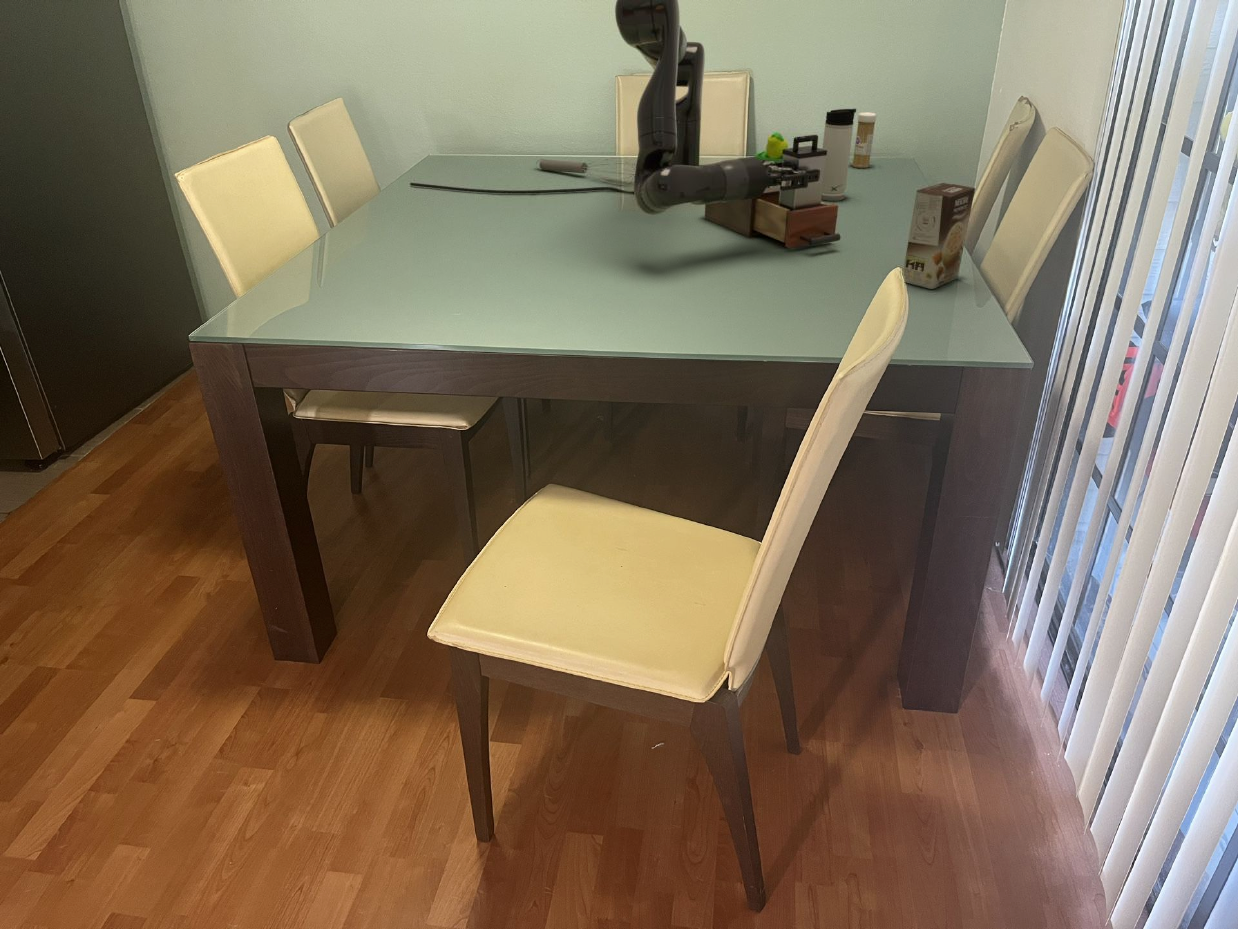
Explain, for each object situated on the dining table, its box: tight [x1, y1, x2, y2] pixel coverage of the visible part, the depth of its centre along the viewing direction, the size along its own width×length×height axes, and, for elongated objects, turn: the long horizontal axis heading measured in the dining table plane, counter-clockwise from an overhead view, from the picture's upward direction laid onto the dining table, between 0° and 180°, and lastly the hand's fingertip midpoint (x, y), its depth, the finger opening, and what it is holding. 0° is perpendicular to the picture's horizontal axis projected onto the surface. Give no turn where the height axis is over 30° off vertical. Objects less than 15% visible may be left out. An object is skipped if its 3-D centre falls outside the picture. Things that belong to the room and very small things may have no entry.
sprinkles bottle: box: [851, 111, 877, 169], centre depth 237 cm, size 5×5×14 cm
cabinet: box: [704, 187, 780, 238], centre depth 191 cm, size 17×13×9 cm
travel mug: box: [821, 108, 857, 202], centre depth 207 cm, size 6×7×20 cm
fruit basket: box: [753, 131, 789, 162], centre depth 228 cm, size 11×9×11 cm
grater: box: [779, 134, 827, 211], centre depth 176 cm, size 5×7×18 cm
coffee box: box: [902, 182, 976, 290], centre depth 157 cm, size 9×6×16 cm
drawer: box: [753, 195, 842, 249], centre depth 180 cm, size 20×11×7 cm, turn 29°
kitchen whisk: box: [535, 157, 636, 186], centre depth 230 cm, size 6×34×6 cm, turn 52°
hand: (804, 170), depth 175 cm, fingers open, 8 cm apart
